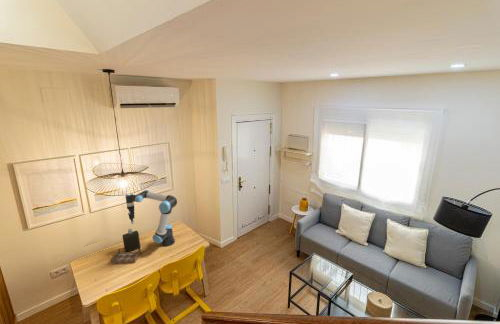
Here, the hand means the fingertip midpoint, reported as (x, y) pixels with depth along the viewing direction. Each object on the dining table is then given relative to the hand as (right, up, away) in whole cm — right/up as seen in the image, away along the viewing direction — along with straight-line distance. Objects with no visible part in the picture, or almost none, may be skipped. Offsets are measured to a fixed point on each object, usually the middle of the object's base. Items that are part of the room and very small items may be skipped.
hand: (132, 223), depth 281 cm
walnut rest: (+2, -33, -18) cm, 37 cm away
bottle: (+1, -29, -3) cm, 29 cm away
